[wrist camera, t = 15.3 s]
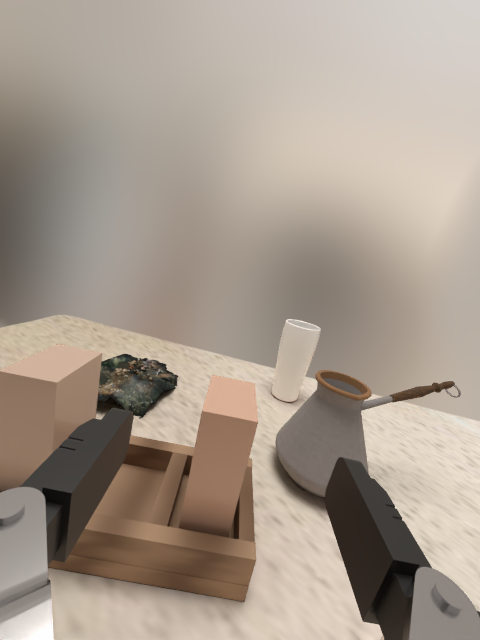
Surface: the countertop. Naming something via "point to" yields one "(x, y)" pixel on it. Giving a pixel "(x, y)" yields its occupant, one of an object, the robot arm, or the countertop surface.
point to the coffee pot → (332, 428)
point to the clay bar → (220, 456)
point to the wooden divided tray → (164, 529)
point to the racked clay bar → (44, 407)
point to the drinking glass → (294, 358)
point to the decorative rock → (134, 382)
